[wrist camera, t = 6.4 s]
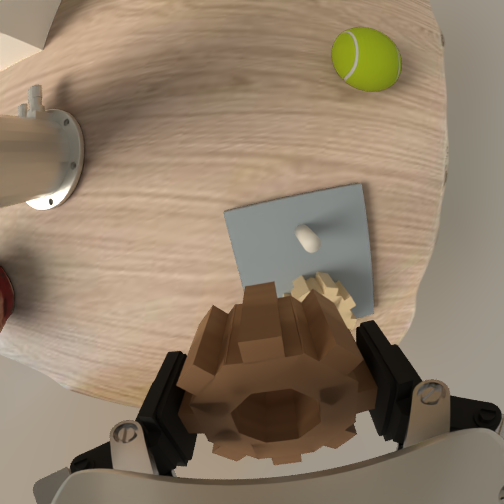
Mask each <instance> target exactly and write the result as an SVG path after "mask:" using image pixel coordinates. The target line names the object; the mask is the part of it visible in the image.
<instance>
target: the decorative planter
mask: <svg viewBox="0 0 504 504" xmlns="http://www.w3.org/2000/svg"><path fill="white" fill-rule="evenodd" d="M13 308H14V292H13V288H12V285H11V283H10V280H9V279H8V277H7V275H6V274H5V272H4V271H3V269H2V268H1V267H0V332H1V331H2V329H3V327H4V325H5V323H6V321H7V319H8V317H9V316H10V315H11V313H12V311H13Z"/></svg>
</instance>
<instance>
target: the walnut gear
mask: <svg viewBox="0 0 504 504" xmlns="http://www.w3.org/2000/svg"><path fill="white" fill-rule="evenodd" d="M176 386H178V387H180V388H182V389H184V390H185V393H184V396H183V400H182V403H181V406H180V409H179V412H178V416H179V417H180V419H181V421H182V423H183V424H184V426H185V428H186V429H187V431H188V433H205V435H206V437H207V439H208V441H209V442H212V443H214V445H213V451H212V453H215V454H217V455H220V456H223V457H226V458H228V459H232V460H234V461H238V460H240V459H242V458H243V457H245V456H246V455H248V456H251V457H254V458H257V459H262V458H272V461H273V464H274V465H279V464H288V463H295V462H301V454H304V453H310V452H314V451H316V450H317V449H319V448H320V447H322V446H327V447H331V448H334V449H336V448H338V447H339V446H341V445H342V444H344V443H345V442H347V441H348V440H349V439H351V438H352V437H353V436H355V435H356V434H357V433H356V430H355V426H354V423H355V422H356V421H355V418H356V414H357V413H360V412H364V411H368V410H371V409H375V403H376V396H377V389H378V387H377V385H376V383H375V381H374V379H373V376H372V374H371V372H370V370H369V368H368V366H367V364H366V362H365V360H364V358H363V356H362V354H361V353H360V351H359V349H358V347H357V345H356V342H355V340H354V338H353V336H352V334H351V332H350V330H349V329H348V328H347V326H346V324H345V322H344V321H343V319H342V317H341V315H340V313H339V311H338V309H337V308H336V306H335V304H334V303H333V302H332V301H331V300H329V299H328V298H326V297H325V296H323V295H322V294H320V293H319V292H317V291H316V290H314V289H312V290H311V291H310V292H309V294H308V295H307V296H306V297H305V299H304V300H303V301H302V302H300V301H298V300H297V299H295V298H294V297H292V296H291V295H290V296H286V297H280V298H277V293H276V287H275V281H273V282H268V283H262V284H256V285H250V286H245V290H244V298H243V304H236V305H234V307H233V309H232V310H231V311H230V313H229V314H227V313H225V312H224V311H222V310H220V309H219V308H217V307H216V306H214V305H213V306H212V307H211V309H210V310H209V311H208V313H207V314H206V316H205V317H204V319H203V320H202V321H201V323H200V324H199V327H198V329H197V332H196V334H195V337H194V340H193V342H192V345H191V347H190V350H189V353H188V355H187V358H186V361H185V363H184V366H183V369H182V371H181V374H180V377H179V379H178V382H177V385H176Z"/></svg>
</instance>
